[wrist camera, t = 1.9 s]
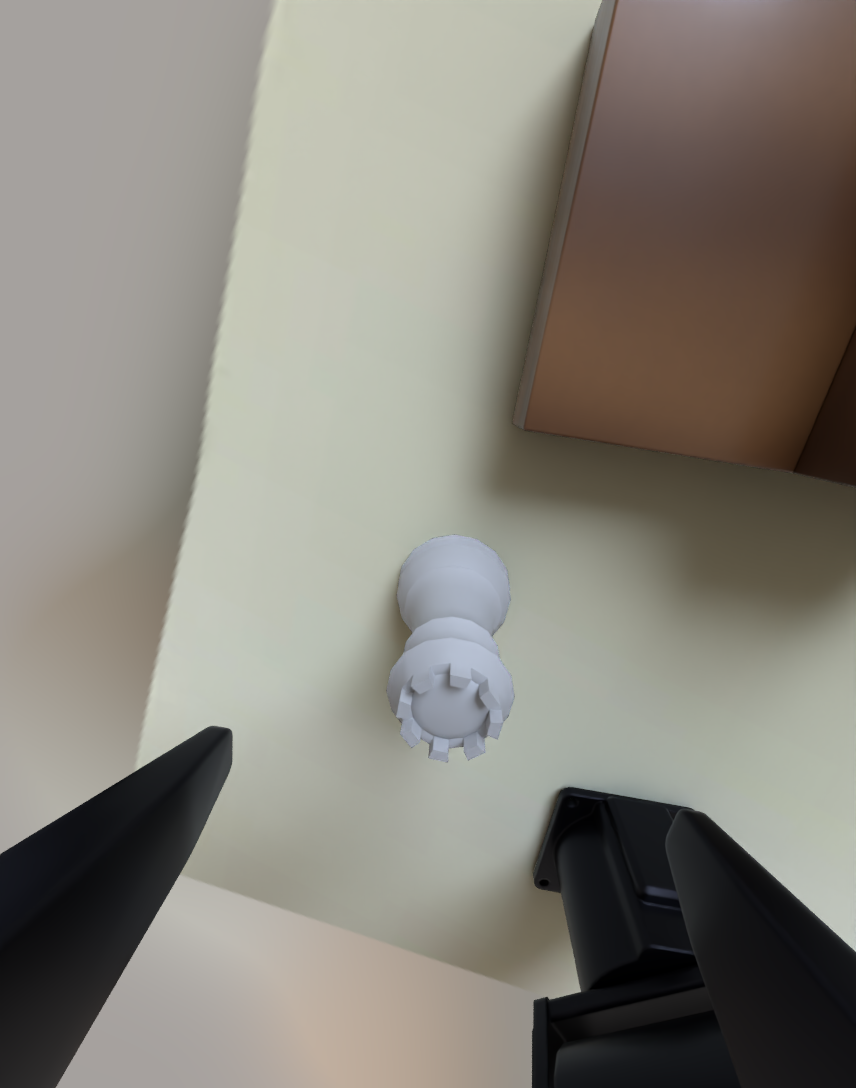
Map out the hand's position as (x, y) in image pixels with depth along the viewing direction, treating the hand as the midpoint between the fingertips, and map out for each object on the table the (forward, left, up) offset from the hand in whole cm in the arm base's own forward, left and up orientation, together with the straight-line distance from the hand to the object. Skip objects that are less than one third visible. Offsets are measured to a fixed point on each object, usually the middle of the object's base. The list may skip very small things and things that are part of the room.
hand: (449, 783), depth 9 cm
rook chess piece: (0, 0, -10) cm, 10 cm away
